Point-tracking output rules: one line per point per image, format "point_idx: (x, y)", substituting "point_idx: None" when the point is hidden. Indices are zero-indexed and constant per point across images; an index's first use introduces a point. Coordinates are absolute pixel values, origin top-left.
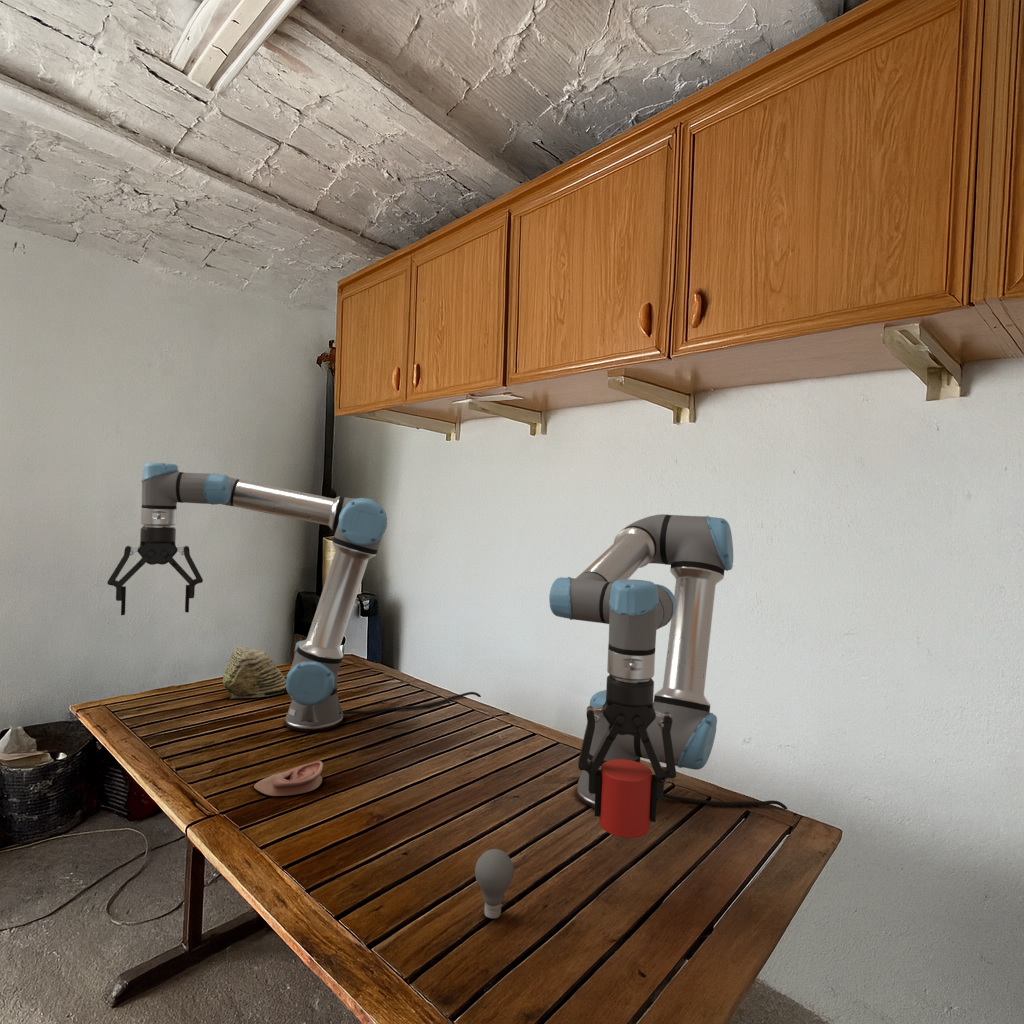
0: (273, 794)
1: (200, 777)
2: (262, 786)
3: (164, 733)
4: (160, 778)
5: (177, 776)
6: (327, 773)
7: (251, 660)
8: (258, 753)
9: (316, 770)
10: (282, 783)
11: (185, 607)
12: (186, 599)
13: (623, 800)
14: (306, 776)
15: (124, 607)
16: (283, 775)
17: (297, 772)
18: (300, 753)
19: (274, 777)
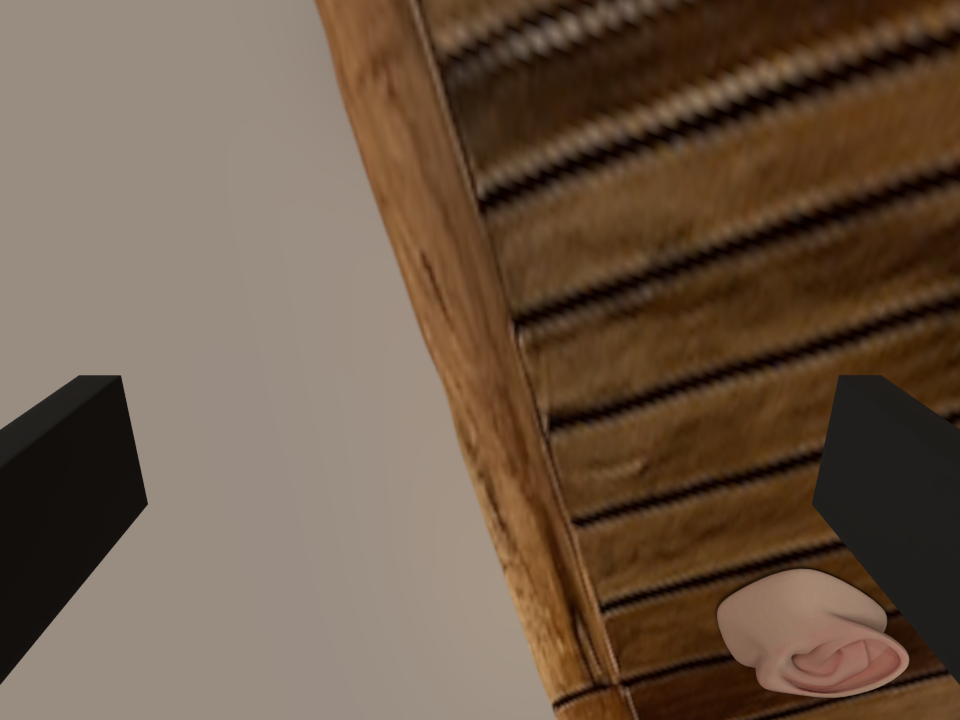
0: (746, 665)
1: (605, 499)
2: (734, 636)
3: (529, 53)
4: (505, 467)
5: (549, 471)
6: None
7: None
8: (796, 396)
9: (880, 656)
10: (775, 690)
11: (846, 532)
12: (921, 630)
13: None
14: (842, 678)
15: (92, 563)
16: (794, 652)
17: (831, 654)
18: None
19: (769, 661)
